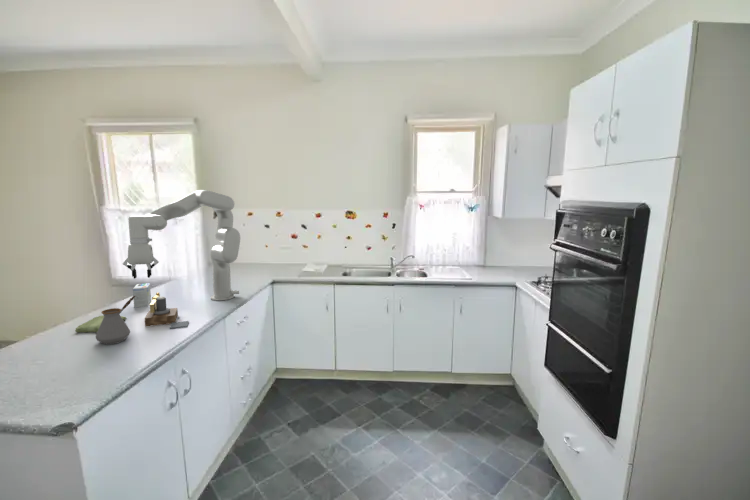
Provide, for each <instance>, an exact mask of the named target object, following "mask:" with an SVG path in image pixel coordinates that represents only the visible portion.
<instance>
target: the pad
mask: <svg viewBox="0 0 750 500" xmlns="http://www.w3.org/2000/svg"><path fill="white" fill-rule="evenodd" d="M188 325H189V320H183V321H176V322H172V323H171V324H170V326H169V330H173V329H182V328H187V327H188Z"/></svg>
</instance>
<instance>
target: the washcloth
mask: <svg viewBox="0 0 750 500" xmlns="http://www.w3.org/2000/svg"><path fill="white" fill-rule="evenodd" d="M120 316H121V315H120ZM121 317H122V319H123V320H124V321H125V320H126V319H127V317H126V316H123V315H122V316H121ZM103 318H104V315H98V316H96V317H93V318H91V319H89V320H88V321H86V322H84V323H81V324H79V325H77V327H76V328H75V329H74V331H75V333H77V334H78V333H97V332H98V330H99V327H100V325H101V322H102V320H103Z"/></svg>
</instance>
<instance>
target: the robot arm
mask: <svg viewBox="0 0 750 500" xmlns="http://www.w3.org/2000/svg"><path fill="white" fill-rule="evenodd" d="M202 207H209V208H212V209H213V211H215V213H216V216H217V222H216V223H217V224H216V229H215V235H214V236H215V240H216V241H217V242H219V243H223V244H216V245H214V246H213V247H212V248H211V250H210V253H209V256H210V260H211V266H212V282H213V283H212V286H213V287H212V288H213V291H212V292H213V293H212V295H211V296H210V299H211V300H212V301H218V302H219V301H228V300H231V299H233V298H234V297H235V295H239V294H240V290H237V289H236V290H233V289H232V287H231V286H232V285H231V284H232V282H231V266H230V264H233V263H235V262H236V261H237V259H238V255H239V251H240V245H241V244H240V243H241V234H240V231H239V230H238V229H237V228H235V227H233V226H234V214H233V212H232V210H233V209H234V207H235V201H234V199H233V198H232V197H231V196H229V195H225V194H223V193H218V192H215V191H212V190H208V189H207V190H206V189H205V190H204V189H198V190H194V191H193V192H190V193H189V194H187V195H185V196H183V197H181V198H180V199H176V201H173V202H170V203H168V204H166V205H163V206H161V207H158V208H156V209H154V210H153V211H150V212H149V213H147V214H145V215H130V216H128V230H129V243H128V247H127V258H126V259H125V260H124V261H123V262H122V265H123V266H125V267H127V269H129V270H130V271H131V277H132V278H133V280H135V279H136V278H137V268H136V265H145V266H146V267H147V269H146V271H147V272H146V273H147V274H146V277H147V278H149V279H150V278H151V276H152V269H153V268H154V267H155V266H156V265H157V264H159V262H160V261H159V260H158V259H157V258H156V257H154V252H153V247H152V243H151V242H153V238H150V237H149V230H150V231H161V230H164V229H165V228H166V227H167V226H168V221H170V220H172V219H175V218H181V217H182V218H183V217H184V216H185V217H186V216H187V215H190V214H191V213H193V212H194V211H196V210H197V209H199V208H202Z"/></svg>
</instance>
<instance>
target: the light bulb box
mask: <svg viewBox="0 0 750 500" xmlns="http://www.w3.org/2000/svg"><path fill="white" fill-rule="evenodd" d="M151 294H152V293H151V283H150V282H148V283H147V282H146V283H136V284H135V286H134V287H133V288H132V297H133V296H136V297H134V299H133V300H132V301H133V309H135V308H148V307H150V304H151V302H152V295H151ZM137 297H138V299H137Z"/></svg>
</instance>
